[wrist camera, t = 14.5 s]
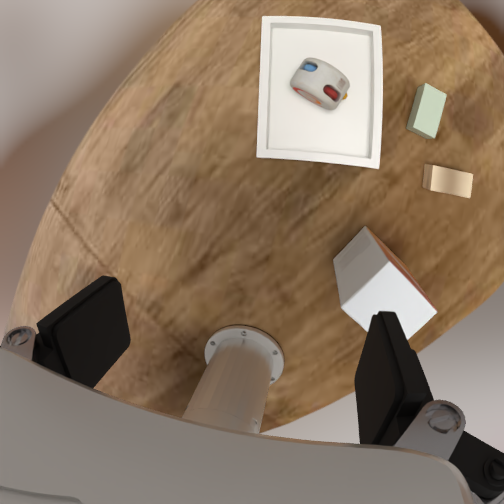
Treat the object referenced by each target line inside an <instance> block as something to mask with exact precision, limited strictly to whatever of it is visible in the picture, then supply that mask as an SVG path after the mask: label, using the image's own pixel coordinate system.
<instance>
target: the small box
mask: <svg viewBox="0 0 504 504" xmlns="http://www.w3.org/2000/svg"><path fill="white" fill-rule="evenodd" d="M333 263H334V268H335V274H336V280H337V285H338V291H339V297H340V304H341V308H342V309H343V310H344V311H345V312H346V313H347V314H348V315H349V316H350V317H351V318H353V319H354V320H355V321H356V322H357V323H358V324H359V325H361V326H362V327H363V328H364V329H365V330H366V331H367V332H368V330H369V326H370V322H371V318H372V316H373V314H376V315H377V314H378V312H379V311H392V312H395V313H396V314H397V317H398V319H399V321H400V324H401V326H402V328H403V331H404V333H405V336H406V338H407V340H408V339H409V338H410V337H411V336H412V335H413V334H415V333H416V332H417V331H418V330H419V329H420V328H421V327H422V326H423V325H424V324H425V323H426V322H428V321H429V320H430V319H431V318H432V317H433V316H434V315H435V314H436V313H437V310H436V308H435V307H434V305H433V304H432V302H431V301H430V299H429V298H428V296H427V295H426V293H425V292H424V291H423V289H422V288H421V286H420V285H419V283H418V282H417V281H416V279H415V278H414V277H413V275H412V274H411V272H410V271H409V269H408V268H407V267H406V265H405V264H404V263H403V262H402V261H401V260H400V259H399V258H398V257H397V256H396V255H395V254H394V253H393V252H392V251H391V250H390V249H389V248H388V247H387V246H386V245H385V244H384V243H383V242H382V241H381V240H380V239H379V238H378V237H377V236H376V235H375V234H374V233H373V232H372V231H371V230H370V229H369V228H368V227H367V226H364V227H363V228H362V229H361V231H360V232H359V233H358V234H357V235H356V236H355V237H354V238H353V239H352V240H351V241H350V242H349V243H348V244H347V245H346V247H345V248H344V249H343V250H342V251H341V252H340V253H339V254H338V255H337V256H336V257H335V258H334V259H333Z"/></svg>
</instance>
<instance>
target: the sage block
mask: <svg viewBox="0 0 504 504" xmlns="http://www.w3.org/2000/svg"><path fill="white" fill-rule="evenodd" d="M445 99H446V94H444V93H443V92H441V91H439V90H437V89H436V88H434V87H432V86H430V85H428V84H426V83H425V84H423V85H421V86H419V87H418V89H417V92H416V96H415V99H414V103H413V106H412V110H411V113H410V117H409V120H408V123H407V127H406V129H408V130H410V131H412V132H414V133H416V134H418V135H420V136H422V137H424V138H426V139H431V138H435V136H436V132H437V129H438V126H439V122H440V118H441V115H442V111H443V107H444V103H445Z"/></svg>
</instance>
